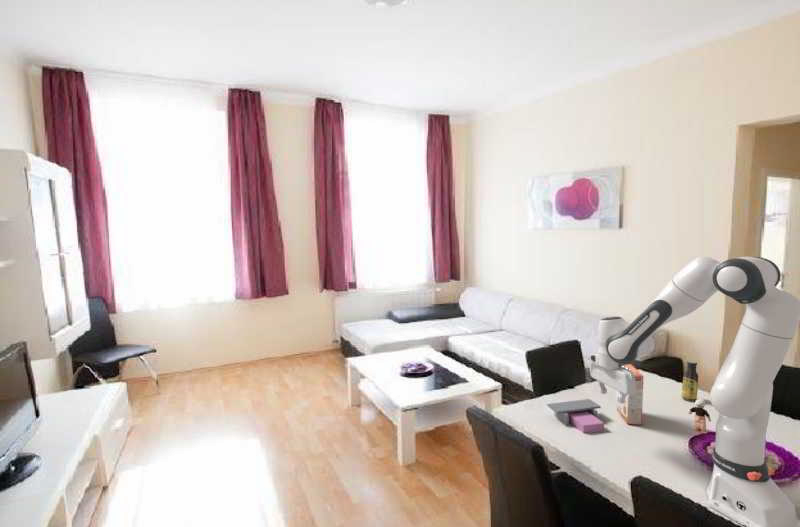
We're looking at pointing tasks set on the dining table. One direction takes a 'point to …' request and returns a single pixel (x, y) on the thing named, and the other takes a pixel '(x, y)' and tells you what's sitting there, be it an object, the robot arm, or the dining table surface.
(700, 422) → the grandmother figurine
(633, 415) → the cracker box
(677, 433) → the dining table surface
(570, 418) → the pink rectangular block
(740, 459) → the robot arm
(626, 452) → the dining table surface
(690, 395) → the sauce bottle
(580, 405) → the bridge dock
